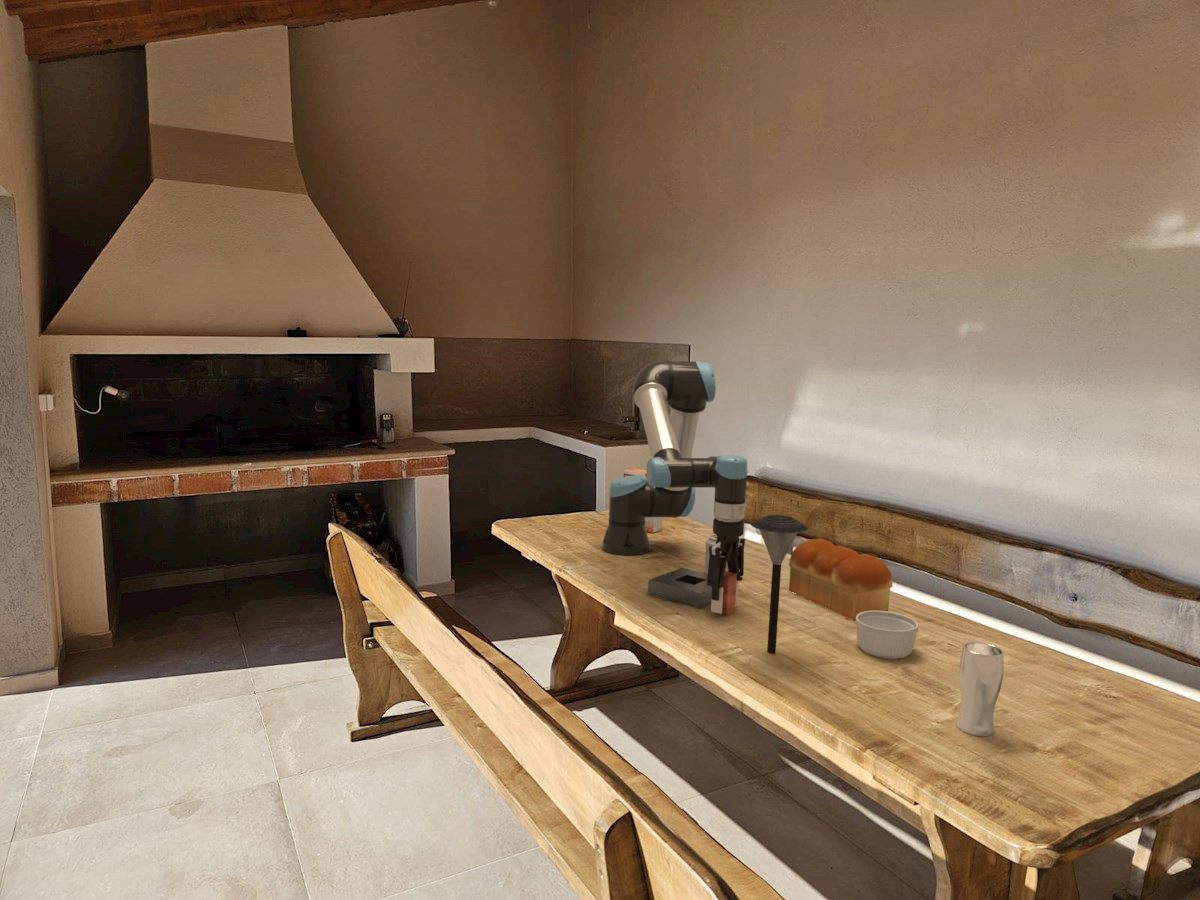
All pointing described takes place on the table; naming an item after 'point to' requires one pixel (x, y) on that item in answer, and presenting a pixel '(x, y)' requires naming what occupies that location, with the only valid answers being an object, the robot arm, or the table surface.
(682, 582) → the socket block
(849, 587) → the bread
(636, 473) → the cracker box
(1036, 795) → the table surface
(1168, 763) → the table surface
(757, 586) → the table surface
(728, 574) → the peg
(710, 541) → the can
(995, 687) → the beer glass
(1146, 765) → the table surface
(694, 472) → the robot arm
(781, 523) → the solar garden light
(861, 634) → the ramekin
